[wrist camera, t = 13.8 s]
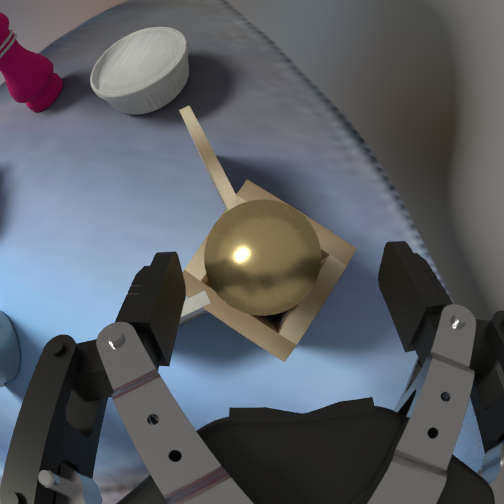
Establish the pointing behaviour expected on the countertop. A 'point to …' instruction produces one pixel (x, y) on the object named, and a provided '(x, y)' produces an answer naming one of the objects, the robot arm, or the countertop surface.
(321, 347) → the countertop surface
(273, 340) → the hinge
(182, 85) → the ramekin
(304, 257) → the brass peg
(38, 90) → the pepper mill
